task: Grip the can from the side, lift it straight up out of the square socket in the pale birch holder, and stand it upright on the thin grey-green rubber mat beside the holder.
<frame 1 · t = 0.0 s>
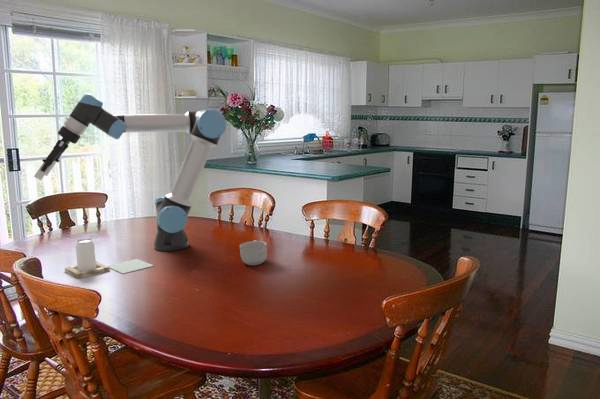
hand: (40, 176, 191), 36 cm above the table, tool tilted 35°, fingers open, 13 cm apart
can: (87, 271, 191), resting in holder
teacup: (254, 262, 201), on the table
mat: (130, 266, 196), on the table
holder: (87, 271, 191), on the table
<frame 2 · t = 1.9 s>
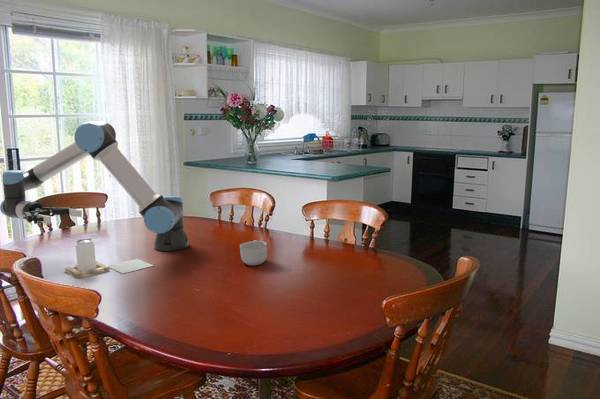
hand: (66, 216, 192), 20 cm above the table, tool horizontal, fingers open, 13 cm apart
nothing on the table moved.
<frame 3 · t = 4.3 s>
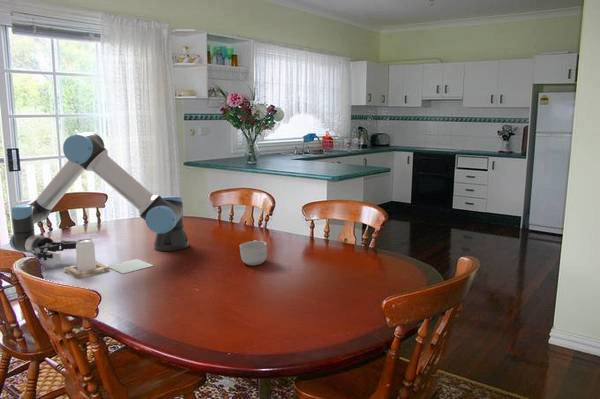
hand: (75, 252, 192), 7 cm above the table, tool horizontal, fingers open, 13 cm apart
nothing on the table moved.
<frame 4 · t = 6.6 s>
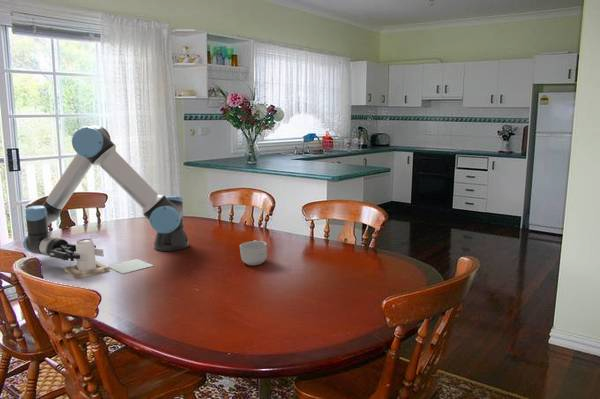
hand: (94, 255, 187), 7 cm above the table, tool horizontal, fingers closed on can, 6 cm apart
can: (87, 271, 191), resting in holder, touching gripper
everything else where it was.
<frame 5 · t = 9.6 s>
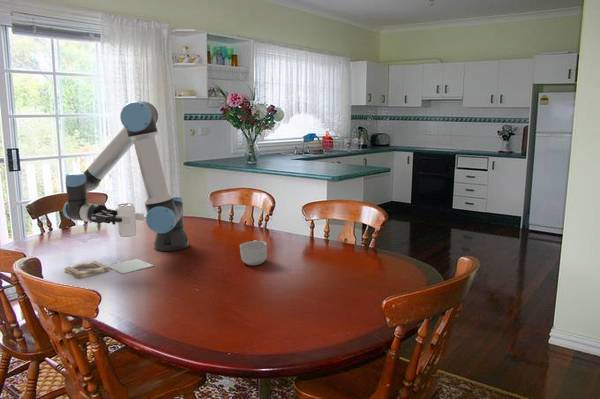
hand: (136, 218, 190), 20 cm above the table, tool horizontal, fingers closed on can, 6 cm apart
can: (127, 235, 194), point 13 cm above the table, touching gripper
everything else where it was.
when the fingers open (7 cm above the table, at t = 12.7 s): can stays where it is, resting on mat.
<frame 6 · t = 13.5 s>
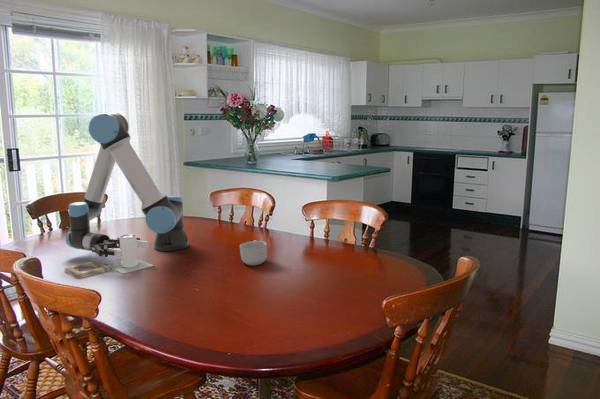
hand: (135, 249, 193), 7 cm above the table, tool horizontal, fingers open, 13 cm apart
can: (130, 266, 196), resting on mat
everything else where it was.
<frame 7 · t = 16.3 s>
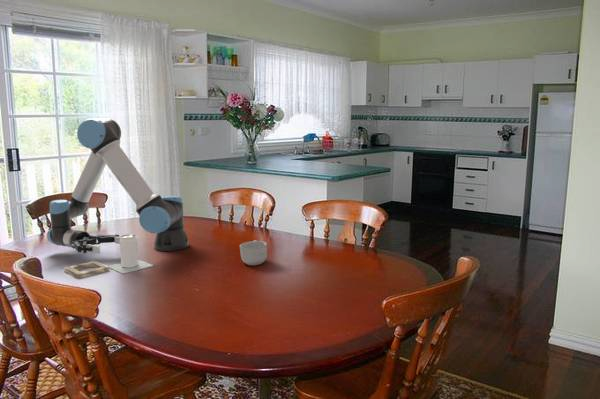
hand: (113, 245, 199), 7 cm above the table, tool horizontal, fingers open, 13 cm apart
nothing on the table moved.
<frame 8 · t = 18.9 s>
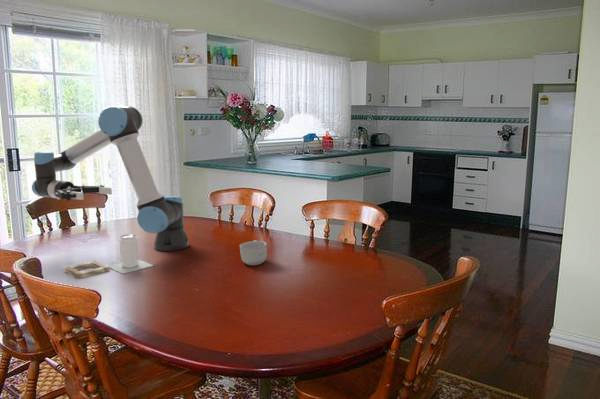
hand: (97, 193, 198), 28 cm above the table, tool horizontal, fingers open, 13 cm apart
nothing on the table moved.
at the end: can inside the target area on the mat (0.1 cm from its centre), point 0.1 cm above the mat's base; can tilted 0°; the gripper is holding nothing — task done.
